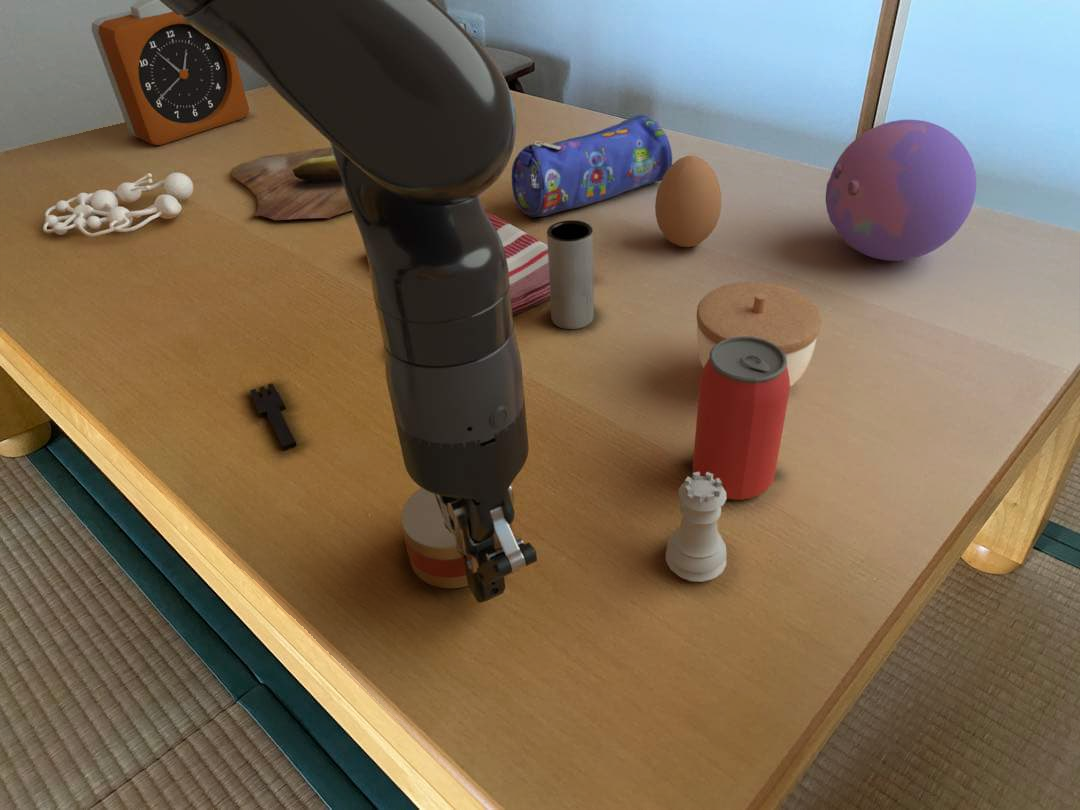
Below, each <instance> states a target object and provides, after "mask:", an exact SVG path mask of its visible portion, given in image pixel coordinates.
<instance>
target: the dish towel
mask: <svg viewBox="0 0 1080 810" xmlns="http://www.w3.org/2000/svg"><path fill="white" fill-rule="evenodd" d="M485 213H486V215H487V217H488V218H489V220H490V221H491V223H492V224H493V226H494V228H495V229H496V231H497V233H498V235H499V237H500V239H501V242H502V244H503V247H504V251H505V254H506V259H507V265H508V273H509V284H510V295H511V306H512V317H514V316H515V315H517V314H520V313H522V312H524V311H526V310H528V309H530V308H532V307H534V306H535V307H536V306H537V305H539V304H541V303H542V302H543V303H544V302H545V301H547V300H550V283H549V263H548V244H547V243H544V242H542V240H540V239H539V238H538V237H537V238H536V237H535V236H534V235H532V234H529V233H526V232H525V231H523V230H522V229H520V228H519V227H516V226H514V225H513V224H511V223H509V222H508V221H506V220H503V218H500V217H498V216H496V215H494V214H492V213H490V212H486V211H485Z"/></svg>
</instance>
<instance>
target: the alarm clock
mask: <svg viewBox="0 0 1080 810" xmlns="http://www.w3.org/2000/svg"><path fill="white" fill-rule="evenodd" d="M91 33H92V35H93V38H94V40H95V44H96V46H97V49H98V52H99V54H100V57H101V60H102V63H103V66H104V68H105V71H106V74H107V77H108V79H109V82H110V85H111V88H112V91H113V93H114V96H115V98H116V102H117V104H118V106H119V109H120V112H121V114H122V117H123V120H124V123H125V125H126V128H127V130H128V132H129V133H130V134H131V135H132V136H134V137H135V138H138V139H140V140H142V141H144V142H146V143H148V144H150V145H152V146H160V147H161V146H163V145H166V144H169V143H171V142H175V141H178V140H181V139H185V138H187V137H191V136H193V135H197V134H199V133H203V132H206V131H208V130H209V131H210V130H212V129H215V128H218V127H221V126H224V125H226V124H230V123H233V122H236V121H239V120H243V119H244V118H246V117H247V116H248V115H249V113H250V106H249V103H248V99H247V95H246V91H245V88H244V84H243V80H242V76H241V73H240V70H239V66H238V62H237V58H236V57H235V56H234V55H232V54H231V53H229V52H228V51H226V50H225V49H223V48H222V47H221V46H219V45H218V44H216V43H215V42H213V41H212V40H210V39H209V38H207V37H206V36H204V35H203V34H201V33H200V32H199V31H197V30H196V29H195V28H193V27H192V26H191V25H189V24H188V23H187V22H186V21H184V20H183V19H182V18H181V16H180V15H177V14H176V13H175V12H173V11H172V10H171V9H170V8H168V7H167V6H166V5H165V4H163V3H162V2H161V1H160V0H137V1H136V2H135V3H134V4H132V5H131V6H130V10H128V11H124V12H119V13H116V14H115V13H114V14H111V15H106V16H102V17H98V18H96V19H95V20H94V21H92V22H91Z"/></svg>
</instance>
